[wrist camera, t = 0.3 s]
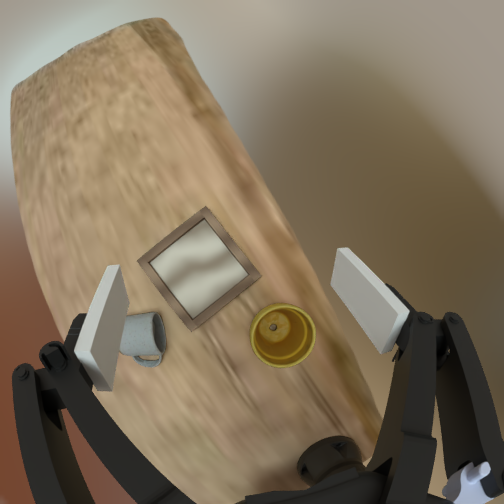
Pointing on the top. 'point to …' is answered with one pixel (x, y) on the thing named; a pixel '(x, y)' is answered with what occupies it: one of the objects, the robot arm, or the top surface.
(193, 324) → the coaster tray
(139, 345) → the ceramic mug
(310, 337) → the plant pot
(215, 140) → the top surface
